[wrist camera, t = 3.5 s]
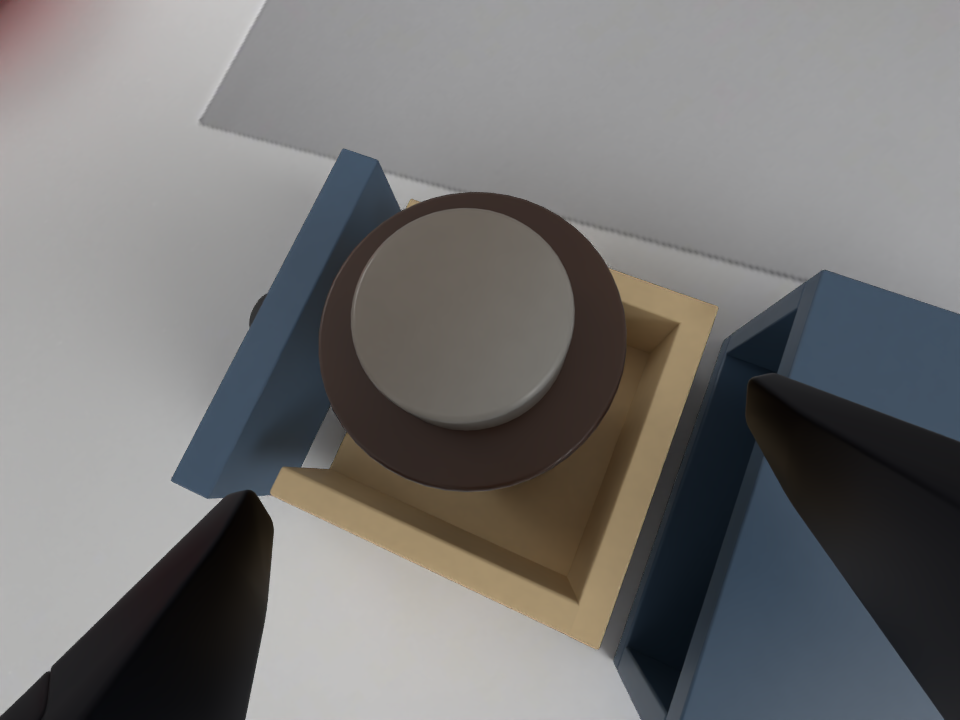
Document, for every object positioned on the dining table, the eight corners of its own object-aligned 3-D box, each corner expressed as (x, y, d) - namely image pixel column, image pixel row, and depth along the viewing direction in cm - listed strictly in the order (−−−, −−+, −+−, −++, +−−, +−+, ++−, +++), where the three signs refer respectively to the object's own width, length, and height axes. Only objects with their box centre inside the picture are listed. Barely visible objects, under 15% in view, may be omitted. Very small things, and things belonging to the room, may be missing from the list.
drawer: (229, 467, 19) (131, 462, 14) (356, 213, 20) (307, 134, 16) (571, 627, 17) (589, 685, 12) (678, 330, 18) (731, 279, 14)
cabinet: (612, 662, 17) (663, 770, 11) (723, 339, 19) (823, 268, 13) (1035, 863, 15) (1411, 1145, 9) (1110, 479, 17) (1460, 477, 11)
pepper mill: (589, 378, 17) (693, 212, 7) (539, 508, 16) (564, 559, 6) (465, 330, 18) (377, 109, 7) (411, 452, 17) (224, 406, 6)
